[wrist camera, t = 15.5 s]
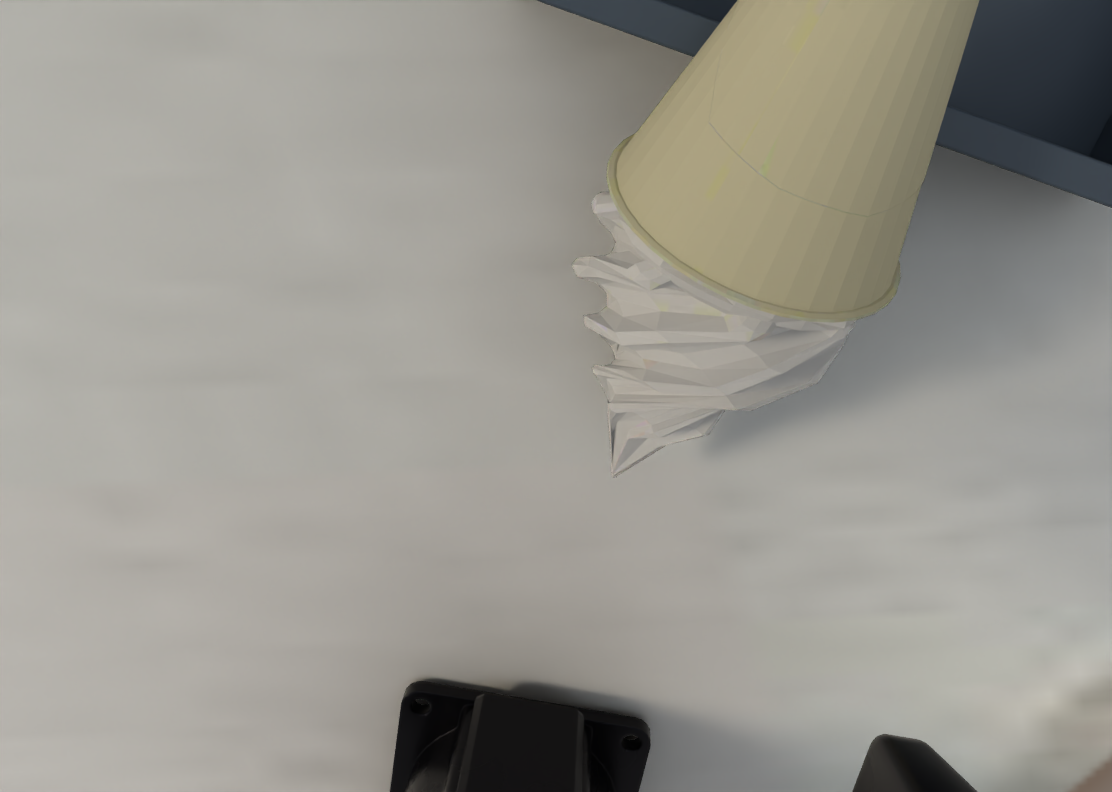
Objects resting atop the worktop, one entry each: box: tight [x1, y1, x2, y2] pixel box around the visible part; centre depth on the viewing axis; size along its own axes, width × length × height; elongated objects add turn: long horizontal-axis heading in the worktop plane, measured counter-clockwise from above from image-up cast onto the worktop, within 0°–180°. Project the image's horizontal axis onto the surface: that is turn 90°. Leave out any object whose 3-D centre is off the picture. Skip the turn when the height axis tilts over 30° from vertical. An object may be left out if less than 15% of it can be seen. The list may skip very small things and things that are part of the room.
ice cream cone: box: [571, 0, 979, 478], centre depth 15 cm, size 5×5×15 cm
